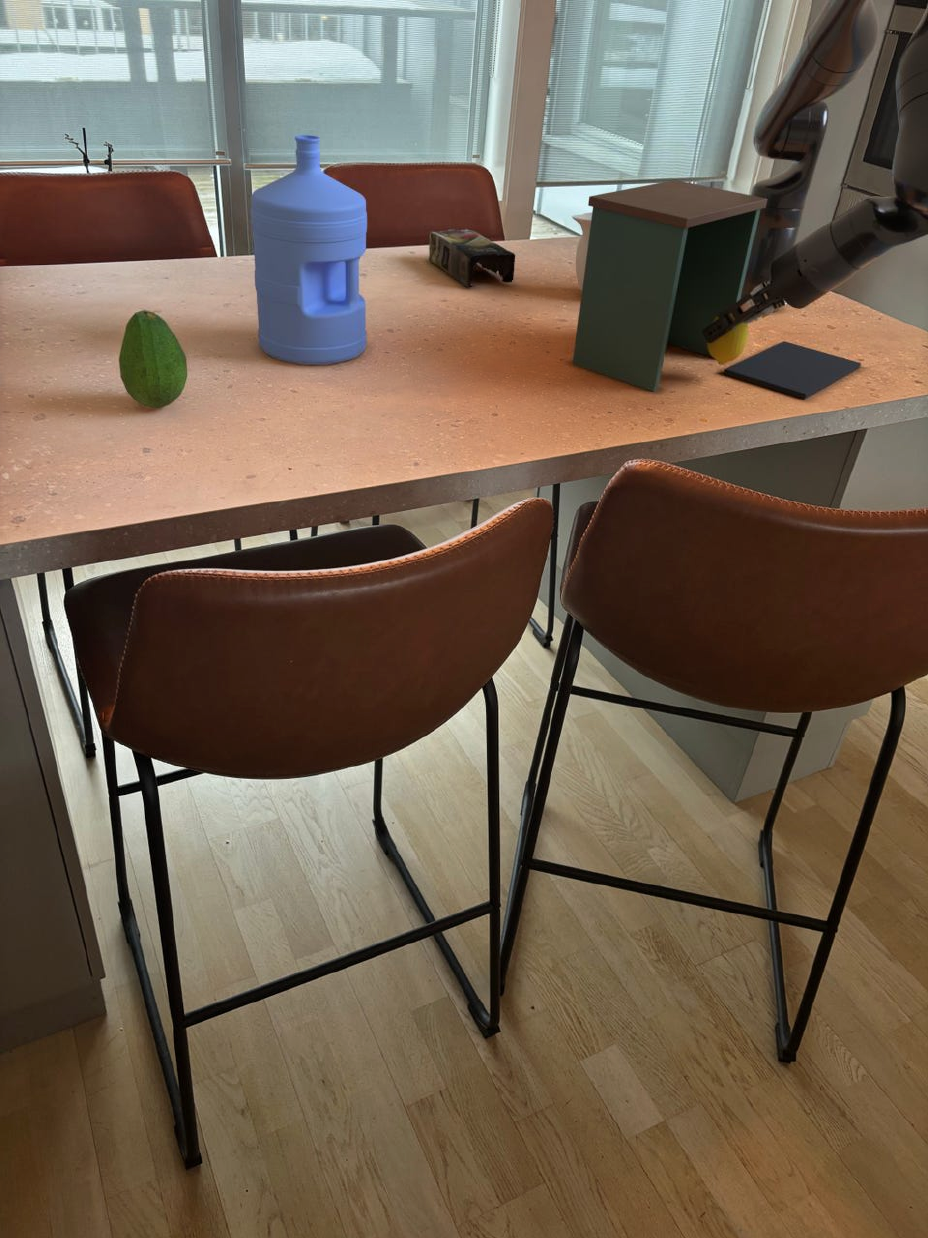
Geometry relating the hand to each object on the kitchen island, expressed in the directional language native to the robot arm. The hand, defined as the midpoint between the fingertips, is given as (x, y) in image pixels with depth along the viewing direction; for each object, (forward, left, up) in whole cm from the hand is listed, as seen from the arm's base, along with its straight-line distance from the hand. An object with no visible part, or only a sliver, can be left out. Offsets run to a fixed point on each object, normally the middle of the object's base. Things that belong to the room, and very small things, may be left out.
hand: (716, 332), depth 136 cm
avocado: (+66, -41, -7) cm, 78 cm away
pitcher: (-22, -33, -7) cm, 40 cm away
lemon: (0, +2, -4) cm, 5 cm away
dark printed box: (-13, -58, -7) cm, 60 cm away
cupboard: (+1, -9, -7) cm, 11 cm away
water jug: (+37, -45, -7) cm, 59 cm away
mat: (-13, +7, -7) cm, 16 cm away
